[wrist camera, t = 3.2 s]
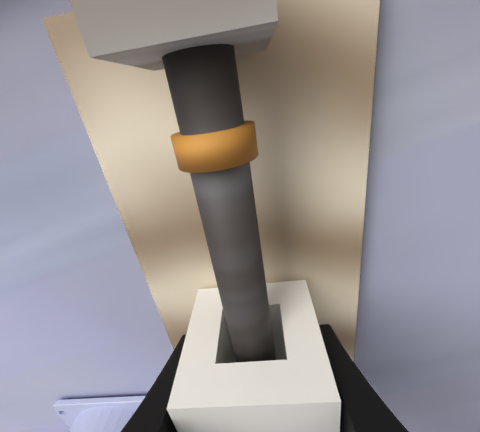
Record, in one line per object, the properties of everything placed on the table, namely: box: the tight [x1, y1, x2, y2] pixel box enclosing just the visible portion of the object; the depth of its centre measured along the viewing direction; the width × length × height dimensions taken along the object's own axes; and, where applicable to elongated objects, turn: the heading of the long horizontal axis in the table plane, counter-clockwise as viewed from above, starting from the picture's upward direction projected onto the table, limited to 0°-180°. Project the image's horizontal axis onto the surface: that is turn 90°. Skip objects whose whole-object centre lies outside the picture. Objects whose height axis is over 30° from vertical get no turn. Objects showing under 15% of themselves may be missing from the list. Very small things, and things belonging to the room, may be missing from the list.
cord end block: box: [167, 280, 341, 432], centre depth 10 cm, size 4×5×5 cm
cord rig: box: [42, 0, 380, 363], centre depth 9 cm, size 18×10×6 cm, turn 8°
